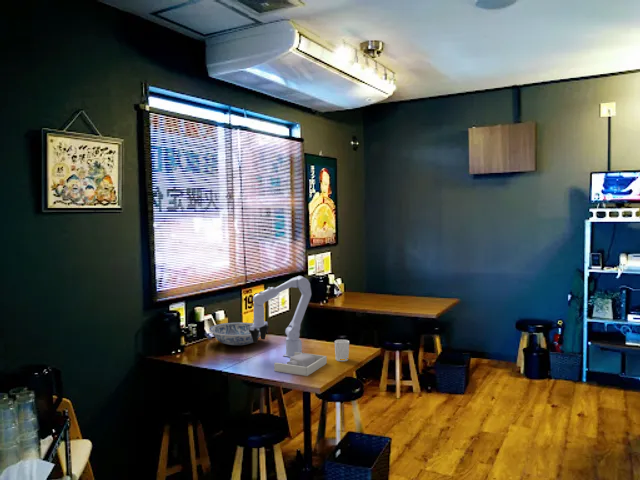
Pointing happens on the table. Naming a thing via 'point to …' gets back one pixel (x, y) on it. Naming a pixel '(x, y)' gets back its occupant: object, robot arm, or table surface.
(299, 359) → the charger
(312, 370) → the box
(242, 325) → the ceramic bowl
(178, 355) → the table surface
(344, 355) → the white cup
